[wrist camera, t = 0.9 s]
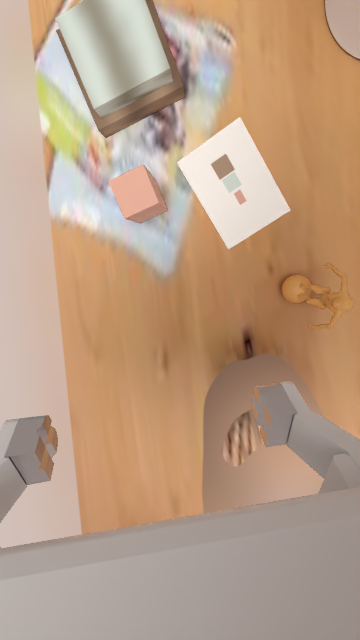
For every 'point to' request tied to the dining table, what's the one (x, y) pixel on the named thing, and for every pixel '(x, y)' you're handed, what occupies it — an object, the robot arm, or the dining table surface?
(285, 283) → the figurine
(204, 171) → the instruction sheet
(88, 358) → the dining table surface
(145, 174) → the tall brick
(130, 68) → the brick base
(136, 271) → the dining table surface
